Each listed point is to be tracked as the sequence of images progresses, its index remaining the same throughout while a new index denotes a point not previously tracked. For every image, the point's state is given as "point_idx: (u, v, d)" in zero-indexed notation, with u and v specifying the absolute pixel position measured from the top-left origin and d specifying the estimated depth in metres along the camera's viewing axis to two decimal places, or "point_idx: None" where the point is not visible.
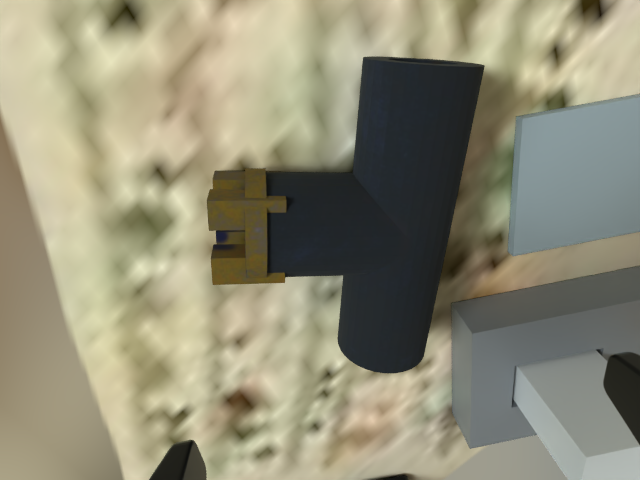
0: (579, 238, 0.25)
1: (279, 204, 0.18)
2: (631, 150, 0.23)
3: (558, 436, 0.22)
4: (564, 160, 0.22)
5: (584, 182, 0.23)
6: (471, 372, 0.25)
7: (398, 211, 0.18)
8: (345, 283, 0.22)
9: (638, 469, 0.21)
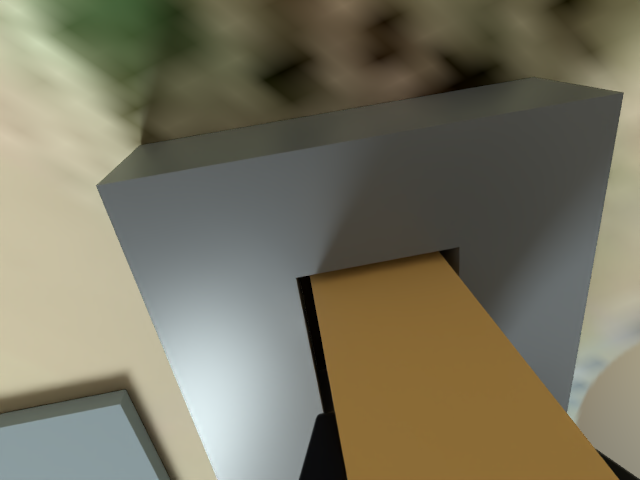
0: None
1: None
2: None
3: None
4: None
5: None
6: None
7: None
8: None
9: None
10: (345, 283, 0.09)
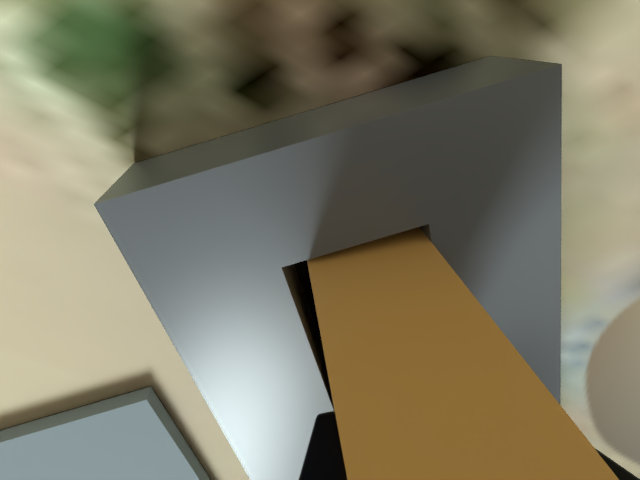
0: None
1: None
2: None
3: None
4: None
5: None
6: None
7: None
8: None
9: None
10: (345, 283, 0.09)
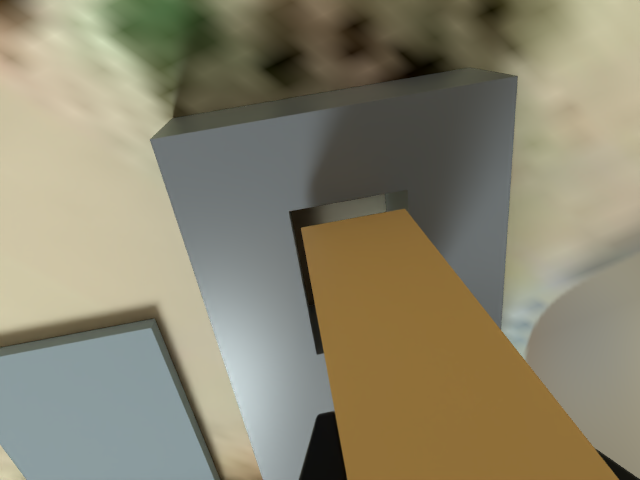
0: (193, 446, 0.20)
1: None
2: (67, 435, 0.18)
3: None
4: None
5: (118, 464, 0.20)
6: None
7: None
8: None
9: None
10: (345, 282, 0.09)
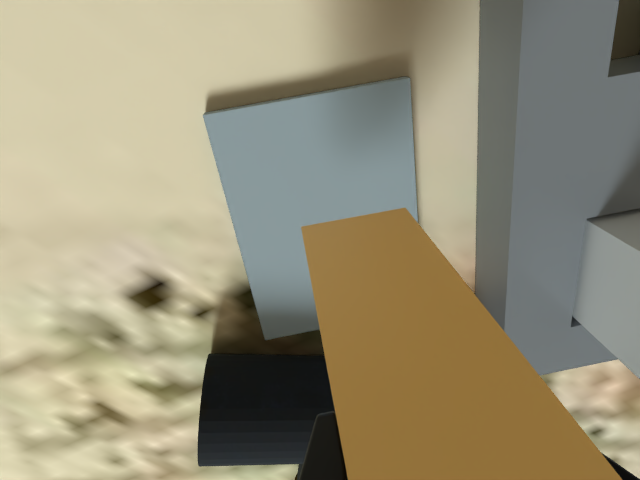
0: None
1: None
2: (297, 215, 0.18)
3: None
4: (308, 288, 0.20)
5: None
6: (560, 369, 0.21)
7: None
8: None
9: None
10: (345, 282, 0.09)
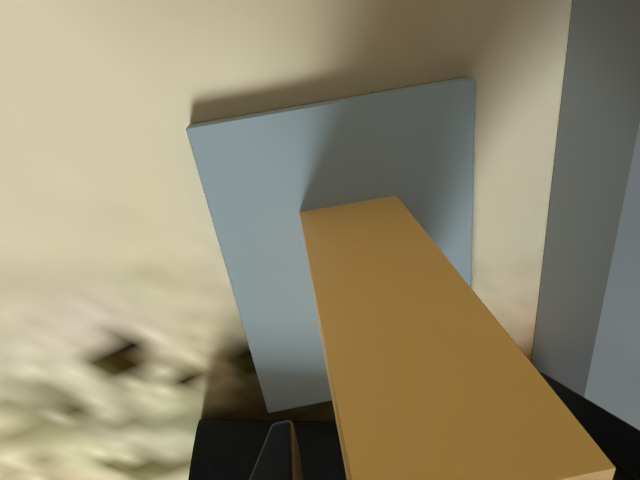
0: None
1: None
2: None
3: None
4: None
5: None
6: None
7: None
8: None
9: None
10: (339, 257, 0.10)
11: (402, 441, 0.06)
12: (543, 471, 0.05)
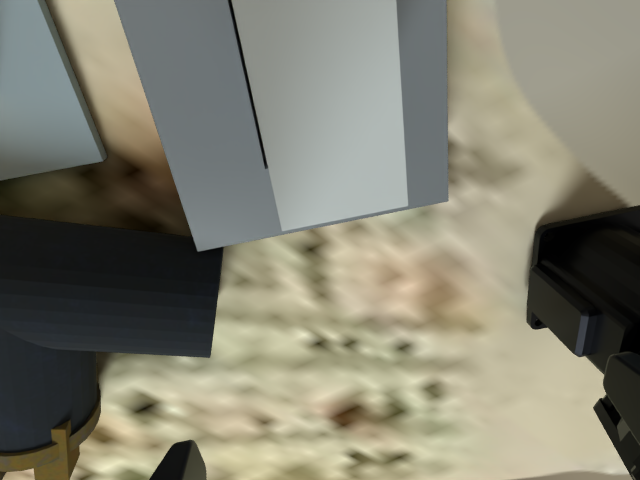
0: (48, 51, 0.15)
1: None
2: None
3: None
4: None
5: None
6: (275, 235, 0.16)
7: None
8: None
9: (346, 79, 0.08)
10: None
11: None
12: None
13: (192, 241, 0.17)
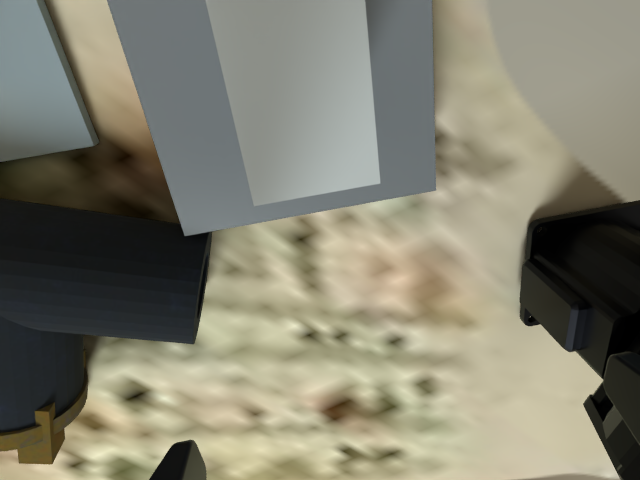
0: (40, 35, 0.15)
1: None
2: None
3: None
4: None
5: None
6: (262, 221, 0.16)
7: None
8: None
9: (314, 52, 0.08)
10: None
11: None
12: None
13: (178, 227, 0.17)
